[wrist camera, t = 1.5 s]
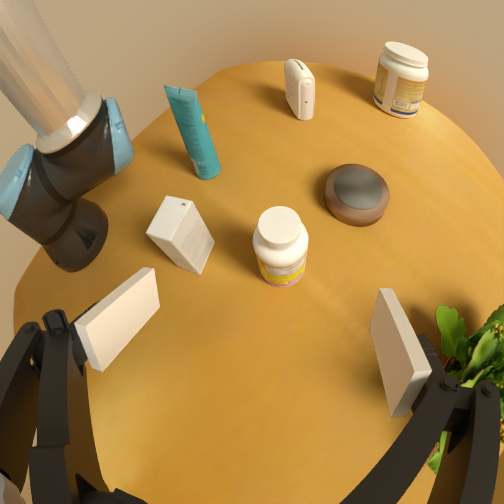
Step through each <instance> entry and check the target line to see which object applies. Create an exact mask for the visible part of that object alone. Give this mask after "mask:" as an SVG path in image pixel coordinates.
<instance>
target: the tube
mask: <svg viewBox="0 0 504 504" xmlns="http://www.w3.org/2000/svg"><path fill="white" fill-rule="evenodd" d="M164 88H165V91H166V94H167V98H168V100H169V103H170V106H171V109H172V112H173V114H174V117H175V120H176V123H177V125H178V128H179V131H180V133H181V136H182V139H183V141H184V144H185V146H186V149H187V152H188V154H189V157H190V159H191V162H192V165H193V167H194V170H195V172H196V175H197V176H198V177H199V178H201V179H211V178H213V177H215V176H216V175H218V173H219V172H220V169H221V166H220V163H219V160H218V157H217V154H216V151H215V149H214V146H213V143H212V140H211V137H210V134H209V131H208V128H207V124H206V121H205V118H204V115H203V112H202V109H201V107H200V104H199V101H198V98H197V95H196V94H197V92H196V91H192V90H187V89H182V88H177V87H172V86H165V85H164Z"/></svg>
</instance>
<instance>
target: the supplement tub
mask: <svg viewBox="0 0 504 504" xmlns="http://www.w3.org/2000/svg"><path fill="white" fill-rule="evenodd" d="M427 65H428V58H427V56H426V55H425V54H424V53H422V52H421V51H419V50H417V49H415V48H413V47H411V46H408V45H406V44H402V43H398V42H387V43H386V44H385V48H384V52H383V53H381V54H380V57H379V63H378V69H377V75H376V81H375V87H374V92H373V99H374V101H375V103H376V105H377V106H378V107H379V108H381V109H382V110H383V111H385V112H387V113H388V114H390V115H393V116H396V117H399V118H411V117H414V116H415V115H416V114H417V112H418V108H419V105H420V102H421V99H422V96H423V92H424V89H425V86H426V82H427V78H428V69H427Z"/></svg>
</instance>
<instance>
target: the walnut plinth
mask: <svg viewBox="0 0 504 504" xmlns="http://www.w3.org/2000/svg"><path fill="white" fill-rule="evenodd" d="M389 199H390V193H389V189H388V186H387V184H386V182H385V181H384V179H383V178H382V177H381V176H380V175H379V174H378V173H377V172H375V171H374V170H372V169H370V168H368V167H366V166H363V165H359V164H345V165H341V166H339V167H336V168H335V169H334V170H332V171H331V172H330V174H329V175H328V177H327V180H326V186H325V192H324V200H325V204H326V206H327V208H328V210H329V211H330V213H331V214H332V215H333V216H334V217H335V218H337V219H338V220H339V221H341V222H343V223H345V224H348V225H351V226H356V227H364V226H369V225H372V224H374V223H376V222H377V221H378V220H379V219H380V218H381V217H382V215H383V213H384V211H385V209H386V207H387V205H388V203H389Z"/></svg>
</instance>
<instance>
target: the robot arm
mask: <svg viewBox="0 0 504 504" xmlns="http://www.w3.org/2000/svg"><path fill="white" fill-rule="evenodd" d="M0 90H1V91H2V92H3V94H4V95H5V96H6V97H7V98H8V99H9V101H10V102H11V103H12V104H13V106H14V107H15V108H16V109H17V110H18V111H19V113H20V114H21V115H22V116H23V117H24V118H25V120H27V122H28V123H29V124H30V125H31V126H32V127H33V128H34V130H35V131H36V132H37V133H38V135H37V148H36V149H34V147H33V146H32V145H30V144H26V145H23V146H22V147H21V148H19V149H18V150H17V152H16V153H15V154H14V155H13V156H12V158H11V159H10V160H9V162H8V163H7V165H6V166H5V168H4V170H3V171H2V173H1V175H0V214H2V215H3V216H4V218H5V219H6V220H8V221H9V222H10V223H12V224H13V225H14V226H16V227H17V228H18V229H20V230H21V231H23V232H24V233H25V234H27V235H28V236H29V237H31V238H32V239H34V240H35V241H37V242H38V243H39V244H41V245H42V246H43V248H44V249H45V251H46V252H47V254H48V255H49V257H50V258H51V259H52V261H53V262H54V263H55V264H56V265H57V266H58V267H60V268H61V269H63V270H64V271H67V272H76V271H79V270H81V269H83V268H85V267H86V266H87V265H89V264H90V263H91V262H92V261H93V260H94V259H95V257H96V256H97V255H98V253H99V252H100V250H101V248H102V246H103V244H104V242H105V239H106V236H107V231H108V219H107V216H106V214H105V212H104V211H103V210H102V209H101V208H100V207H99V206H98V205H97V204H95V203H94V202H90V201H88V200H86V199H84V198H81V196H82V195H84V194H85V193H87V192H88V191H90V190H91V189H93V188H94V187H96V186H98V185H99V184H101V183H102V182H104V181H106V180H107V179H109V178H111V177H112V176H114V175H117V174H118V172H119V171H121V170H122V169H124V168H125V167H127V166H128V165H130V164H131V163H132V161H133V159H134V150H133V146H132V143H131V140H130V137H129V134H128V131H127V129H126V126H125V124H124V120H123V117H122V114H121V112H120V109H119V107H118V104H117V101H116V99H115V98H114V97H110V98H106V99H105V100H103V99H102V97H101V95H100V94H99V93H98V92H97V91H93V90H86V91H85V90H84V89H83V88H82V86H81V84H80V83H79V81H78V80H77V78H76V76H75V75H74V73H73V71H72V70H71V68H70V66H69V65H68V63H67V62H66V60H65V58H64V56H63V55H62V53H61V51H60V50H59V48H58V46H57V44H56V43H55V41H54V39H53V37H52V36H51V34H50V32H49V31H48V28H47V27H46V25H45V23H44V21H43V19H42V18H41V16H40V14H39V12H38V10H37V8H36V6H35V4H34V2H33V0H0ZM159 308H160V304H159V298H158V292H157V285H156V279H155V271H154V268H147V267H143V268H142V269H141V270H139V271H138V272H137V273H135V274H134V275H133V276H132V277H130V278H129V279H128V280H126V281H125V282H124V283H123V284H121V285H120V286H119V287H117V288H116V289H115V290H114V291H112V292H111V293H110V294H109V295H107V296H106V297H105V298H104V299H102V300H101V301H99V302H97V303H95V304H93V305H92V306H90V307H89V308H88V310H86V311H84V312H83V313H82V314H81V315H79V316H78V317H77V318H76V319H75V320H73V321H72V322H71V323H70V324H68V321H67V318H66V315H65V312H64V311H63V310H60V309H56V310H51V311H49V312H47V313H46V314H45V315H43V317H42V320H43V323H44V325H45V328H46V330H47V331H42V330H41V328H40V326H39V323H37V322H27V323H25V324H24V325H23V326H22V327H21V328H20V330H19V331H18V333H17V334H16V336H15V337H14V339H13V341H12V342H11V344H10V346H9V347H8V349H7V351H6V352H5V354H4V356H3V358H2V360H1V362H0V504H26V502H25V500H24V499H23V498H22V497H21V496H20V494H21V491H22V489H23V486H24V483H25V479H26V474H27V469H28V464H29V475H30V486H31V494H32V502H33V504H148V503H146V502H145V501H143V500H142V499H139V498H137V497H135V496H132V495H130V494H128V493H126V492H124V491H122V490H119V489H117V488H116V489H115V490H114V492H110V491H109V489H108V487H107V485H106V484H105V482H104V480H103V478H102V475H101V471H100V467H99V462H98V458H97V453H96V448H95V442H94V437H93V431H92V424H91V417H90V409H89V400H88V389H87V375H86V367H85V364H84V362H85V361H86V360H87V359H88V361H89V363H90V365H91V368H93V369H96V370H98V371H101V372H103V371H104V370H105V369H106V368H107V367H108V365H109V364H110V363H111V362H112V361H113V360H114V358H115V357H116V356H117V355H118V354H119V353H120V352H121V350H122V349H123V348H124V347H125V346H126V345H127V343H128V342H129V341H130V340H131V339H132V338H133V337H134V336H135V334H136V333H137V332H138V331H139V330H140V329H141V328H142V327H143V325H144V324H145V323H146V322H147V321H148V320H149V319H150V318H151V316H152V315H153V314H154V313H155V312H156V311H157V310H158V309H159ZM369 330H370V333H371V337H372V340H373V344H374V348H375V352H376V356H377V359H378V363H379V367H380V372H381V376H382V380H383V384H384V389H385V394H386V398H387V403H388V408H389V413H390V417H401V416H407V414H408V412H409V411H410V409H411V407H412V411H413V416H412V418H411V419H410V421H409V422H408V424H407V425H406V426H405V428H404V429H403V431H402V432H401V434H400V435H399V436H398V438H397V439H396V440H395V442H394V443H393V444H392V446H391V447H390V448H389V450H388V451H387V452H386V453H385V455H384V456H383V457H382V458H381V460H380V461H379V462H378V463H377V464H376V466H375V467H374V468H373V469H372V470H371V471H370V472H369V474H368V475H367V476H366V477H365V478H364V479H363V480H362V481H361V482H360V483H359V485H358V486H357V487H356V488H355V489H354V490H353V491H352V492H351V493H350V494H349V495H348V496H347V497H346V498H345V499H344V500H343V501H342V502H341V503H340V504H396V503H397V502H398V501H399V500H400V498H401V497H402V496H403V494H404V493H405V492H406V490H407V489H408V487H409V486H410V485H411V483H412V482H413V480H414V479H415V477H416V476H417V474H418V473H419V471H420V470H421V468H422V466H423V465H424V463H425V462H426V460H427V458H428V457H429V455H430V453H431V451H432V450H433V448H434V446H435V444H436V443H437V441H438V439H439V437H440V435H441V433H442V431H446V432H447V436H446V441H445V445H444V450H443V454H442V458H441V462H440V465H439V469H438V472H437V476H436V479H435V482H434V485H433V488H432V491H431V494H430V497H429V500H428V502H427V504H491V503H492V499H493V494H494V489H495V482H496V476H497V469H498V461H499V450H500V431H501V408H500V392H499V388H498V387H497V385H496V384H495V383H493V382H492V381H489V380H481V381H479V382H478V384H477V385H476V387H475V388H470V387H463V386H461V384H460V382H459V381H458V379H457V378H456V377H454V376H452V375H449V374H446V372H445V369H444V367H443V365H442V363H441V361H440V359H439V357H438V355H437V353H436V351H435V349H434V347H433V345H432V343H431V341H430V340H429V339H428V338H427V337H426V336H425V335H424V334H421V335H416V334H415V332H414V330H413V328H412V326H411V324H410V322H409V320H408V318H407V316H406V314H405V312H404V310H403V308H402V306H401V304H400V303H399V301H398V299H397V297H396V295H395V293H394V291H393V290H392V288H379V292H378V296H377V301H376V305H375V309H374V313H373V317H372V321H371V325H370V328H369ZM31 358H32V360H33V362H34V363H33V365H31V364H30V359H31ZM36 428H37V446H36V447H32V444H33V440H34V435H35V431H36Z"/></svg>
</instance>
